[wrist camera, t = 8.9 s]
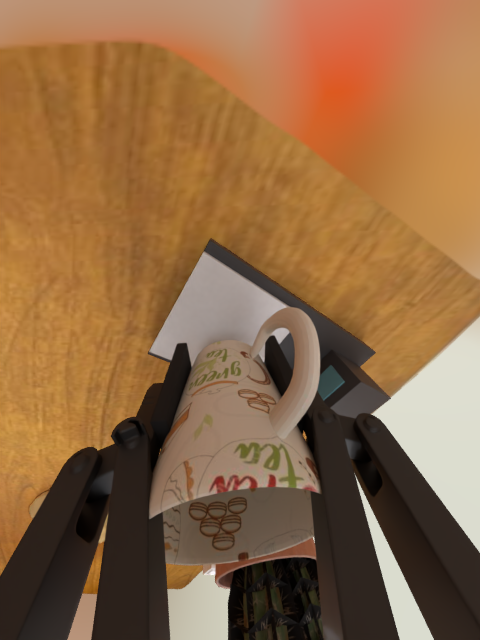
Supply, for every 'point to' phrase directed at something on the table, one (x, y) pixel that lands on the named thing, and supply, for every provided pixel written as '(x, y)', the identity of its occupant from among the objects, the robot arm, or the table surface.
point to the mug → (239, 453)
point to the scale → (250, 314)
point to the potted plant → (274, 595)
